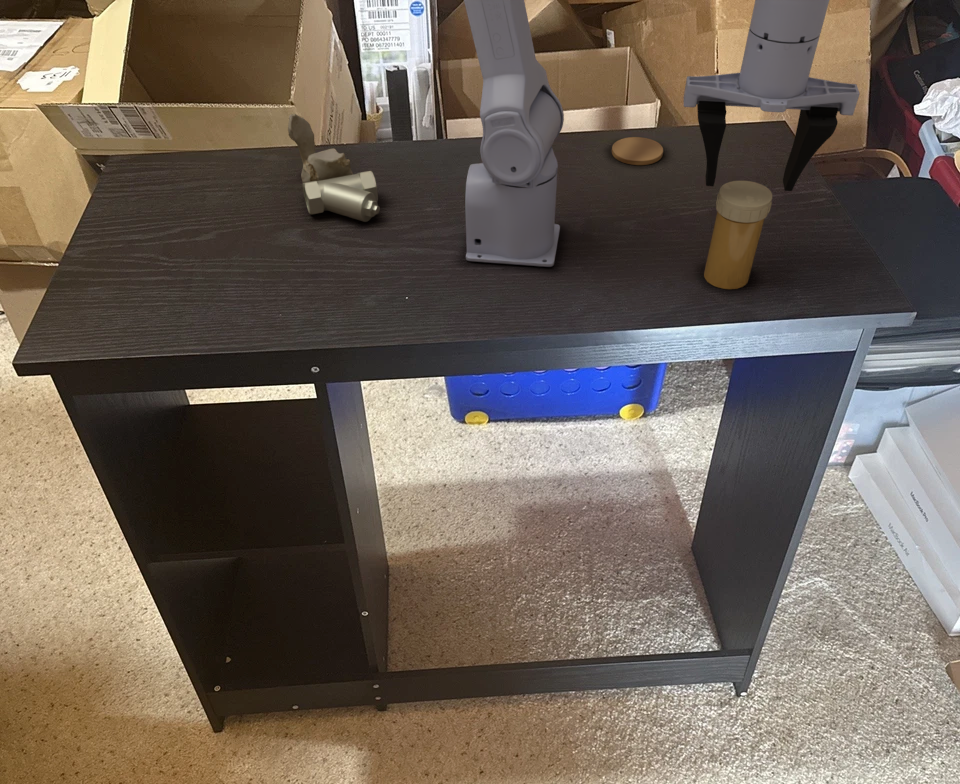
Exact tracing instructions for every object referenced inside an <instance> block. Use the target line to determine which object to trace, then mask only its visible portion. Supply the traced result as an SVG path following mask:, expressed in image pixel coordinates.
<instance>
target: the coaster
mask: <svg viewBox="0 0 960 784" xmlns="http://www.w3.org/2000/svg"><path fill="white" fill-rule="evenodd" d="M611 155H612V156H613V158H614V159H615V160H617V161H619V162H621V163H624V164H626V165H632V166H646V165H652V164H654V163H658V161H660V160H662V158H663V155H664V148H663V146H662V144H661V143H659V142H658V141H656V140H654V139H651V138H647V137H641V136H630V137H624V138H620V139H618V140H617V141H615V142H614V143H613V144H612V147H611Z"/></svg>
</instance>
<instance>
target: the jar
mask: <svg viewBox="0 0 960 784" xmlns="http://www.w3.org/2000/svg"><path fill="white" fill-rule="evenodd" d="M765 219H766V218H764V219H762V220H760V221H757V222H751V223H742V222H736V221H732V220H729V219H727V218H725V217H723V216H722V215H720V214H719V213H718V211H717V210H716V214H715V218H714V224H713V227H712V228H713V229H712V232H711V237H710V242H709V246H708V252H707V255H706V256H707V257H706V260H705V265H704V271H703V277H704V279H705V281H706V282H707V283H708V284H709V285H710V286H711V285H712V286H713V287H715V288H718V289H723V290H738V289H740V288H743V287H744V286H746V285H747V284H748V282H749V280H750V277H751V273H752V268H753V266H754V260H755V257H756V253H757V250H758V246H759V242H760V238H761V234H762V230H763V227H764V223H765Z"/></svg>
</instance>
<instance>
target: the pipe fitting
mask: <svg viewBox="0 0 960 784" xmlns="http://www.w3.org/2000/svg"><path fill="white" fill-rule="evenodd" d="M301 186H302V193H303V197H304V201H305V205H306V208H307V211H308V214H309V215H316V214H321V213H324V212H326V211H328V212H331V213H334V214H337V215H340V216H343V217H347V218H350V219H353V220H357V221H360V222H363V223H367V222H369V221H370V220H371V219H372V218H374V217H375V216H376V215H379V213H380V210H381V209H380V206H379V204H378V201H379V192H378V186H377V181H376V178H375V175H374V173H373V171H372V170H365V171H362V172H361V171H360V172H357V173H353V175H348V176H343V177H337V178H332V179H326V180H321V181H311V182H306V183H303V182H302V185H301Z"/></svg>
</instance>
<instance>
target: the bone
mask: <svg viewBox="0 0 960 784" xmlns="http://www.w3.org/2000/svg"><path fill="white" fill-rule="evenodd" d="M287 133H288V136H289V138H290V139H291V140H292V141H293V142H295V144H296V145H297V148H298V152H299V155H300V158H301V163H302V169H301V174H300V178H301V181H302V184H303V183H306V182H311V181H321V180H326V179H332V178H337V177H343V176H348V175H353V174H354V172H353V171H352V169H351V160H350V159H347V158H346V156H345V153H344V152H341V153H339V152H338V151H337V150H336V149H335V148H328V149H325V150H322V151H318V152H316V142H315V133H314V131H313V129H312V126H311V124H310V122H309V121H308V120H306V119H305V118H304V117H303V116H300V115H298V114H296V113H291V114H289V115H288V124H287Z"/></svg>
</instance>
